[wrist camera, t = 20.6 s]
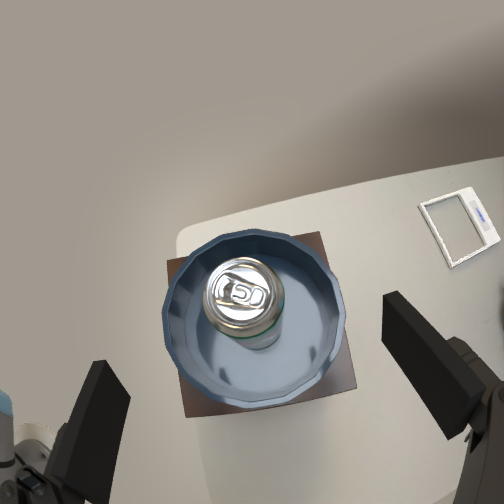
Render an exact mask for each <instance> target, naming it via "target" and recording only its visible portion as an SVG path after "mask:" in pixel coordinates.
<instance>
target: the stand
mask: <svg viewBox="0 0 504 504" xmlns="http://www.w3.org/2000/svg"><path fill="white" fill-rule="evenodd" d="M291 237H293V238H295V239H296V240H298V241H300V242H301V243H303V244H305V245H307V246H308V247H310V248H312V249H313V250H315V251H316V252H317V253H318V254H319V255H320V257H321V258H322V259H323V261H324V262H325V263H326V265H327V266H328V267H329V263H328V260H327V256H326V252H325V249H324V245H323V242H322V238H321V235H320V232H319V231H317V232H312V233H307V234H301V235H296V236H291ZM188 257H189V256H186V257H181V258H176V259H171V260H167V271H168V284H169V285H170V281H171V279H172V277H173V276H174V275H175V273H176V272H177V271H178V269H179V268H180V267H181V266H182V264H183V263H184V262H185V260H186V259H187V258H188ZM329 269H330V267H329ZM178 374H179V381H180V387H181V393H182V399H183V405H184V410H185V416H186V418H190V417H205V416H215V415H225V414H234V413H241V412H249V411H256V410H262V409H268V408H274V407H280V406H285V405H290V404H295V403H300V402H305V401H309V400H314V399H318V398H322V397H326V396H330V395H334V394H338V393H342V392H346V391H349V390H353V389H356V388H357V384H356V379H355V374H354V369H353V364H352V359H351V354H350V350H349V345H348V340H347V336H346V331H345V327H344V331H343V337H342V343H341V349H340V351H339V353H338V354H337V356H336V357H335V359H334V361H333V362H332V364H331V365H330V367H329V368H328V370H327V371H326V373H325V374H324V376H323V377H322V379H321V380H320V381H319V382H318V383H317V384H315V385H314V386H312V387H311V388H309V389H308V390H306V391H305V392H303V393H302V394H300V395H299V396H297V397H296V398H294V399H292V400H291V401H289V402H287V403H283V404H278V405H272V406H266V407H260V408H254V409H245V408H241V407H237V406H233V405H229V404H225V403H221V402H217V401H214V400H211V399H210V398H208V397H207V396H206V395H204V394H203V393H202V392H200V391H199V390H198V389H197V388H195V387H194V386H193V385H191V384H190V383H189V382H188V381H186V380H185V379H184V378H183V377H182V376H181V374H180V372H179V371H178Z"/></svg>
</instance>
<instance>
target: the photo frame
mask: <svg viewBox="0 0 504 504" xmlns="http://www.w3.org/2000/svg"><path fill="white" fill-rule="evenodd" d="M457 195H458V197H459V199H460V200H461V202H462V204H463V206H464V207H465V209H466V211H467V213H468V214H469V216H470V218H471V220H472V222H473V223H474V225H475V227H476V229H477V231H478V233H479V235H480V237H481V239H482V241H483V243H484V245H485V246H484V247H482V248H480V249H479V250H477V251H475V252H473V253H471V254H469V255H468V256H466V257H464V258H462V259H460V260H458V261H456V262H454V263H453V261H452V259H451V257H450V255H449V253H448V251H447V249H446V247H445V245H444V243H443V241H442V239H441V237H440V235H439V233H438V231H437V229H436V227H435V225H434V223H433V222H432V220H431V218H430V216H429V214H428V213H427V211H426V209H425V206H428V205H431V204H434V203H437V202H439V201H442V200H445V199H448V198H451V197H454V196H457ZM418 207H419V208H420V210H421V212H422V214H423V216H424V217H425V219H426V221H427V223H428V225H429V227H430V229H431V230H432V232H433V234H434V236H435V238H436V240H437V242H438V244H439V246H440V248H441V250H442V252H443V254H444V256H445V259H446V261H447V263H448V265H449V267H450V268H452V267H454V266H456V265H458V264H460V263H462V262H464V261H466V260H467V259H469V258H471V257H473V256H475V255H477V254H478V253H480V252H482V251H484V250H485V249H487V248H489V247H491V246H492V245H494V244H496V243H498V242H499V241H500V238H499V236H498V234H497V232H496V230H495V228H494V226H493V224H492V222H491V220H490V218H489V216H488V215H487V213H486V211H485V209H484V207H483V206H482V204H481V202H480V200H479V199H478V197H477V195H476V194H475V192H474V190H473V189H472V187H471V186H470V187H467V188H464V189H461V190H458V191H456V192H453V193H450V194H447V195H444V196H441V197H438V198H435V199H432V200H429V201H426V202H423V203H420V204H419V205H418Z"/></svg>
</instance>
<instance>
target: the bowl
mask: <svg viewBox="0 0 504 504" xmlns="http://www.w3.org/2000/svg"><path fill="white" fill-rule="evenodd" d="M234 258H251V259H256V260H259V261H262V262H263V263H265V264H267V265H268V266H270V267H271V268H272V269H273V270H274V271H275V272H276V273H277V275H278V276H279V277H280V279H281V281H282V284H283V287H284V292H285V304H284V313H283V322H282V329H281V332H280V334H279V336H278V338H277V339H276V340H275V341H274V342H273V343H272V344H270V345H269V346H267V347H265V348H261V349H249V348H246V347H243V346H241V345H240V344H238V343H236V342H235V341H233V340H232V339H230V338H228V337H227V336H225V335H224V334H222V333H221V332H219V331H218V330H216V329H215V328H214V327H213V326H212V325H211V323H210V322H209V321H208V319H207V317H206V315H205V313H204V310H203V306H202V293H203V289H204V285H205V283H206V281H207V279H208V277H209V276H210V274H211V273H212V271H213V270H214V269H215V268H216V267H218V266H219V265H220V264H222V263H223V262H225V261H227V260H230V259H234ZM345 319H346V311H345V307H344V302H343V298H342V295H341V291H340V287H339V283H338V280H337V278H336V277H335V275H334V274H333V273H332V271H331V270H330V269H329V267H328V266H327V265H326V263H325V262H324V261H323V259H322V258H321V257H320V255H319V254H318V253H317V252H316V251H315V250H313V249H312V248H310V247H308V246H307V245H305V244H303V243H301V242H300V241H298V240H296V239H295V238H293V237H291V236H290V235H288V234H284V233H278V232H272V231H266V230H260V229H248V230H243V231H238V232H232V233H227V234H222V235H220V236H218V237H216V238H215V239H213V240H211V241H210V242H208V243H206V244H205V245H203V246H201V247H200V248H198V249H197V250H195V251H193V252H192V253H191V254H190V255H189V257H188V258H187V259H186V260H185V262H184V263H183V264H182V266H181V267H180V268H179V269H178V271H177V272H176V273H175V275H174V276H173V277H172V279H171V281H170V285H169V288H168V291H167V295H166V298H165V301H164V305H163V308H162V322H163V331H164V340H165V345H166V349H167V351H168V352H169V354H170V356H171V358H172V360H173V361H174V363H175V365H176V367H177V369H178V371H179V372H180V374H181V376H182V377H183V378H184V379H185V380H186V381H188V382H189V383H190V384H191V385H193V386H194V387H195V388H197V389H198V390H199V391H200V392H202V393H203V394H204V395H206V396H207V397H208V398H210V399H211V400H214V401H217V402H221V403H225V404H229V405H233V406H237V407H241V408H245V409H254V408H260V407H266V406H272V405H278V404H283V403H287V402H289V401H291V400H292V399H294V398H296V397H297V396H299V395H300V394H302V393H303V392H305V391H306V390H308V389H309V388H311V387H312V386H314V385H315V384H317V383H318V382H319V381H320V380H321V379H322V377H323V376H324V374H325V373H326V371H327V370H328V368H329V367H330V365H331V364H332V362H333V361H334V359H335V357H336V356H337V354H338V353H339V351H340V349H341V343H342V337H343V331H344V325H345Z"/></svg>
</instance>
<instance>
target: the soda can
mask: <svg viewBox="0 0 504 504" xmlns="http://www.w3.org/2000/svg"><path fill="white" fill-rule="evenodd" d="M284 304H285V292H284V287H283V284H282V281H281V279H280V277H279V276H278V275H277V273H276V272H275V271H274V270H273V269H272V268H271V267H270V266H268V265H267V264H265V263H263V262H262V261H259V260H256V259H251V258H234V259H230V260H227V261H225V262H223V263H222V264H220V265H219V266H218V267H216V268H215V269H214V270H213V271H212V273H211V274H210V276H209V277H208V279H207V281H206V283H205V285H204V289H203V293H202V306H203V310H204V313H205V315H206V317H207V319H208V321H209V322H210V323H211V325H212V326H213V327H214V328H215V329H216V330H218V331H219V332H221V333H222V334H224V335H225V336H227V337H228V338H230V339H232V340H233V341H235V342H236V343H238V344H240V345H241V346H243V347H246V348H249V349H261V348H265V347H267V346H269V345H270V344H272V343H273V342H274V341H275V340H276V339H277V338H278V336H279V334H280V332H281V329H282V322H283V313H284Z"/></svg>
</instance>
